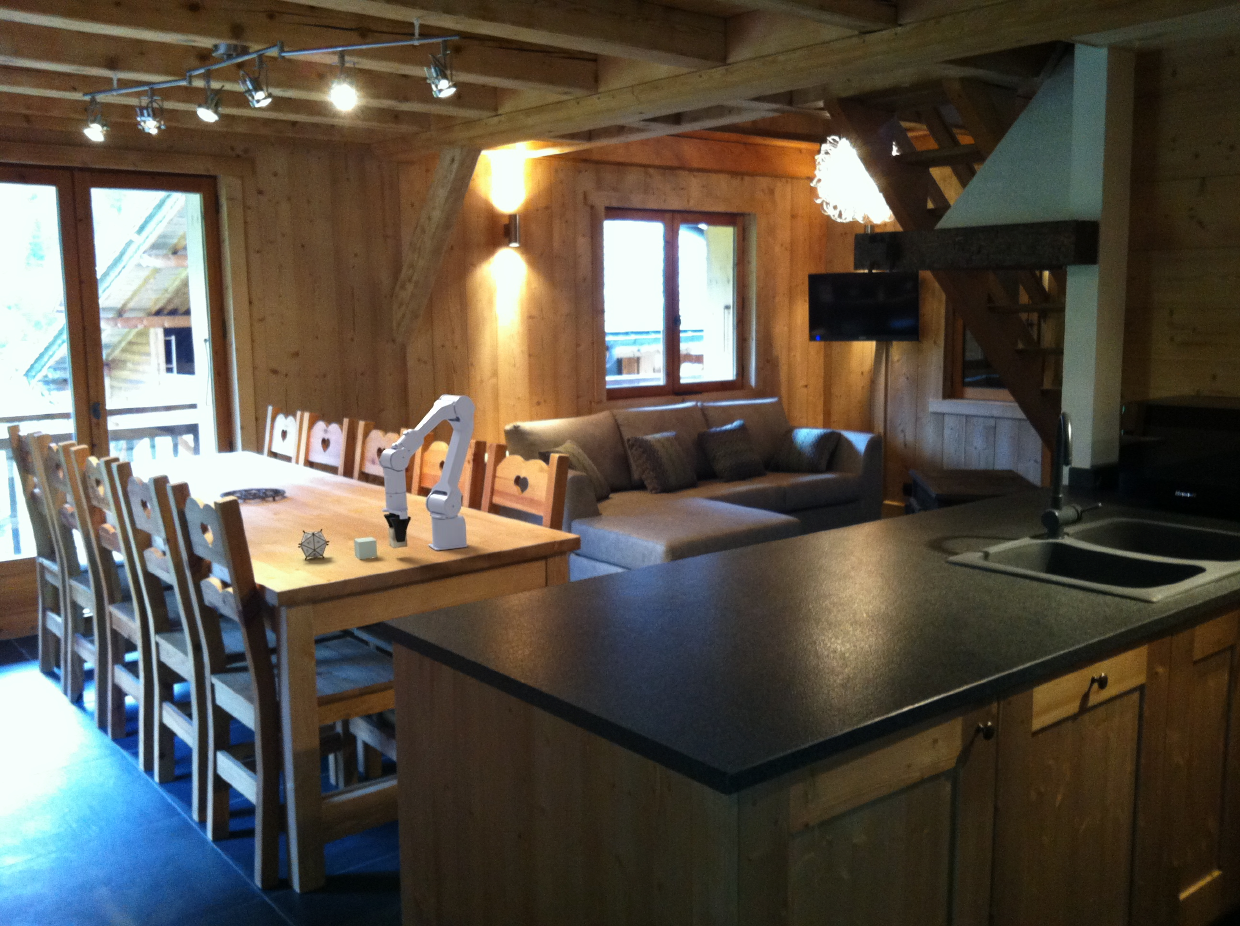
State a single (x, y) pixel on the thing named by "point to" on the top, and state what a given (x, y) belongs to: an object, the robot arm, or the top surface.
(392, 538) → the birch block
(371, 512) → the top surface
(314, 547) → the game die
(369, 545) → the base block
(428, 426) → the robot arm
